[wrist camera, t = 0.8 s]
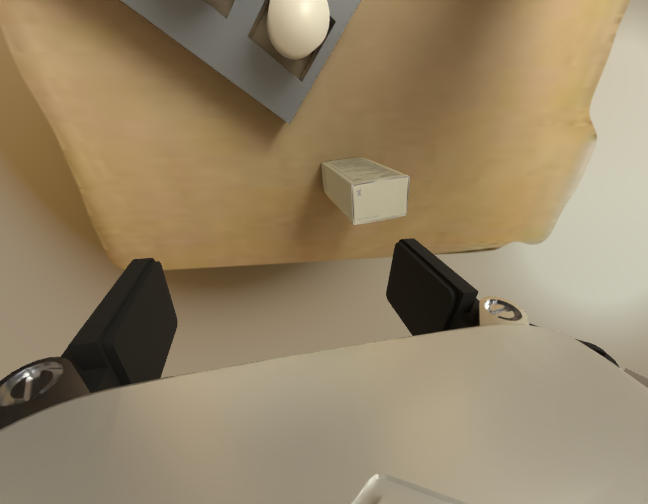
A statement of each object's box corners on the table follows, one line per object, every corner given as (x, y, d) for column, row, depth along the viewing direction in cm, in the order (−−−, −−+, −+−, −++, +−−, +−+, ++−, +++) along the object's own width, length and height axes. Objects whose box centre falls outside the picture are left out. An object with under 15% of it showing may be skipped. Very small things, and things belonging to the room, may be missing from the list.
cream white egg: (284, -22, 23) (290, -46, 19) (328, 22, 25) (341, 8, 22) (256, 34, 24) (257, 22, 21) (300, 71, 27) (308, 66, 23)
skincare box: (323, 193, 38) (350, 227, 27) (320, 160, 35) (349, 184, 25) (365, 186, 39) (407, 217, 28) (365, 154, 36) (411, 175, 26)
